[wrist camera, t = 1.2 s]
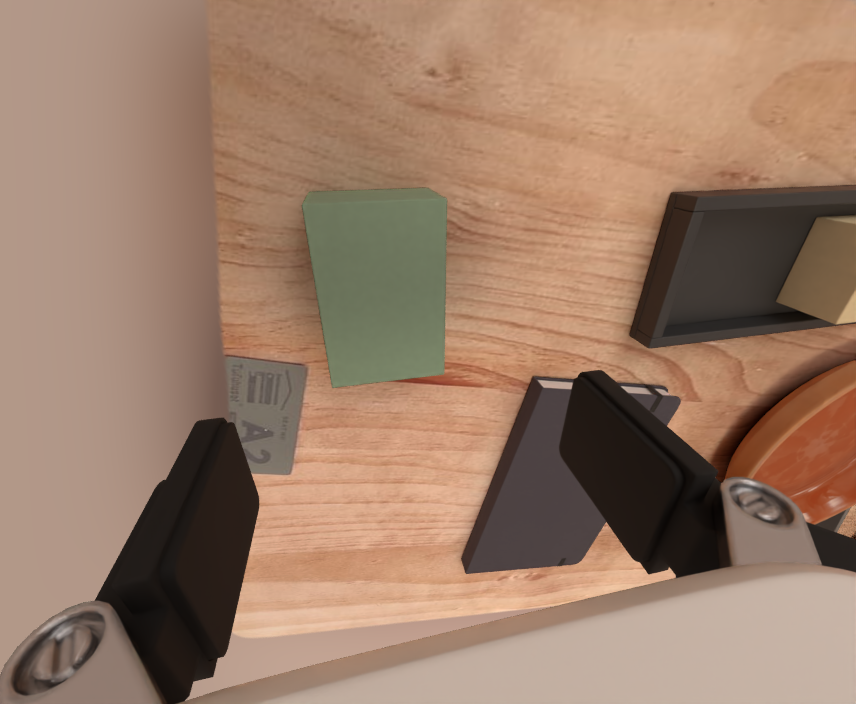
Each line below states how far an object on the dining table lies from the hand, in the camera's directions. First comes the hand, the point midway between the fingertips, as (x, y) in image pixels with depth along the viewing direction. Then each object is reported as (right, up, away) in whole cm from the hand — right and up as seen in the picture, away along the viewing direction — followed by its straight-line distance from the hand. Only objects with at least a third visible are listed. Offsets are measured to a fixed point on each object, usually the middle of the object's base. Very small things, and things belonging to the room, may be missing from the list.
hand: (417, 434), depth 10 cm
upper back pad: (+30, +9, +16) cm, 36 cm away
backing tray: (+25, +9, +16) cm, 31 cm away
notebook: (+12, -9, +23) cm, 28 cm away
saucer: (+39, -6, +28) cm, 49 cm away
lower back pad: (-3, +7, +11) cm, 13 cm away
